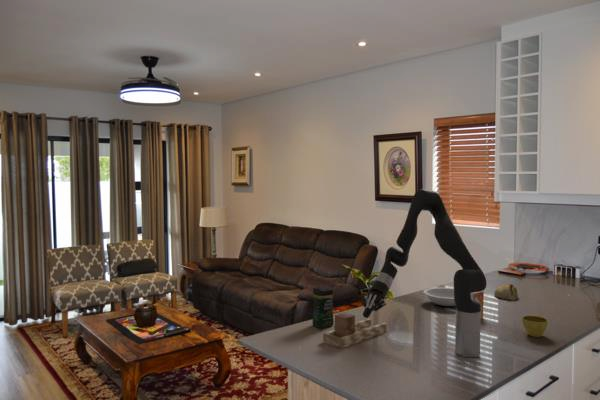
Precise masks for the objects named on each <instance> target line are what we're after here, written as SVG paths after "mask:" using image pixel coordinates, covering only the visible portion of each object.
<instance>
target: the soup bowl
mask: <svg viewBox="0 0 600 400" xmlns="http://www.w3.org/2000/svg"><path fill="white" fill-rule="evenodd" d="M423 294H424V295H426V296H427V298H428V299H429V301H431V302H432V304H433V303H434V305H439V306H442V307H456V304H455V300H454V287H453V288H451V287H429V288H426V289H424V290H423Z"/></svg>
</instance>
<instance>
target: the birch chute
mask: <svg viewBox="0 0 600 400" xmlns="http://www.w3.org/2000/svg"><path fill="white" fill-rule="evenodd" d="M385 333H387V323H386V322H381V323H378V324H375V325H372V319H371V318H369V317H368V318H364V319H362V320H359V321H357V322H356V321H355V333H352V334H350V335H347V336H344V337H341V338H340V337H337V336H335V329H333V330H329V331H326V332H323V334H322V342H323V343H324V344H327V345H329V346H333V347H335V348H338V349H343V348H346V347H350V346H352V345H354V344H357V343H360V342H362V341H366V340H368V339H371V338H374V337H376V336H379V335H381V334H385Z"/></svg>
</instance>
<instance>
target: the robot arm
mask: <svg viewBox="0 0 600 400" xmlns="http://www.w3.org/2000/svg"><path fill="white" fill-rule="evenodd" d="M422 211H427V212H429V213H430V214H431V215H432V217H433V220H434V229H433V230H434V234H433V235H434V237H435V239H436V241H437V242H436V243H438V245H439V247H440V249H441V250H442V252H444V253H445V254H446V255H448V257H450V258H452V259H453V260H454V261H455V262H456V263H457V264H458V265H459V266H460V267H461V268H462V269H458V270H457V271H455V273H454V275H453V289H454V300H455V304H456V306H455V329H454V330H455V332H454V335H455V337H454V338H455V340H454V342H455V343H454V352H455V354H457V355H459V356H461V357H463V358H480V355H481V321H482V320H481V319H482V317H481V305H480V303H479V302H477V301H474V300H471V294H470V293H474V292H481V291H485V290H486V289H487V285H488V284H487V279H486V276H485V274H484V272H483V270H482V268H481V267H480V266H479V264H478V262H476V260H475V259H474V257H473V256H472V254H471V253H470V251H469V249H468V248H467V246H466V244H465V243H464V241H463V239H462V236H461V235H460V233H459V232H458V229H457V228H456V226H455V225H454V222H453V221H452V219H451V217H450V215H449V214H448V212H447V209H446V206H445V204H444V201H443V199H442V197H441V195H440V194H439V192H437V191H434V190H430V189H426V188H425V189H424V188H419V189H418V190H416V191H415V193H414V195H413V197H412V200H411V203H410V205H409V209H408V213H407V216H406V219H405V222H404V224H403V227H402V229H401V231H400V233H399V235H398V237H397V239H396V245H397V246H398V247H399V248H400V249H399V248H397V247H395V246H390V247H389V248H388V249H387V250H386V252H385V256H384V257H385V258H384V263H383V266H382V267H381V269H380V271H379V274H378V275H377V276H376V277H375V280H374V281H373V283H372V285H371V286H370V288H369V292H368V293H367V295H362V296H361V301H362V305H363V307H364V310H363V312H362V316H363V317H364V319H368V318H369V317H370V316H371V314H372V312H374V311H375V312H377V311H379V310H380V309H382V308H384V307H385V306H386V305H387V303H386V301H385V298H386V297H387V295H388V293H389V291H390V289H391V287H392V285H393V282H394V281H395V278H396V276H397V273H398V269H397V267H396V266H398V267H401V268H402V267H404V266H406V265H407V263H408V261H409V254H410V250H411V247H412V245H413V243H414V241H415V240H416V237H417V234H418V219H419V216H420V214H421V212H422ZM393 264H394V265H393Z"/></svg>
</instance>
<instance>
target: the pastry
mask: <svg viewBox="0 0 600 400" xmlns="http://www.w3.org/2000/svg"><path fill="white" fill-rule="evenodd" d="M494 297H496V298H498V299H502V300H507V301H517V299H518V297H519V294H518V290H517V287H515V286H514V285H513V284H512V283H511V284H504V285H502V286H501V285H500V286H498V287H497V288H496V290H495V291H494Z"/></svg>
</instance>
